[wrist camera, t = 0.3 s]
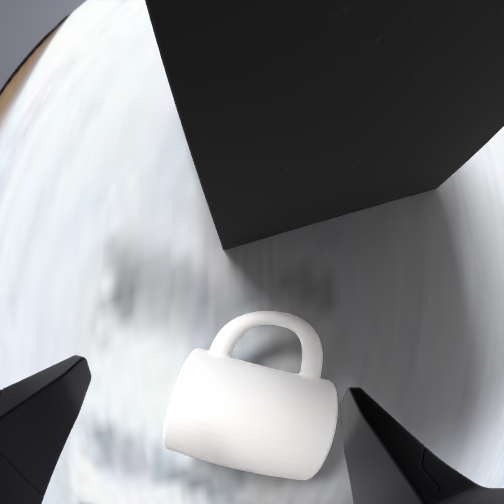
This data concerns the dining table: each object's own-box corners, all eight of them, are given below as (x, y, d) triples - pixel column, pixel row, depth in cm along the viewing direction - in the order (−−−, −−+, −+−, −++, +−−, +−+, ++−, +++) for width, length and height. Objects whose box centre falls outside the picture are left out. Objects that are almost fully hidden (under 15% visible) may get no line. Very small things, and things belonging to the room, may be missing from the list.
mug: (293, 454, 20) (309, 500, 13) (181, 427, 21) (153, 464, 13) (332, 327, 23) (367, 326, 16) (217, 298, 24) (201, 283, 16)
